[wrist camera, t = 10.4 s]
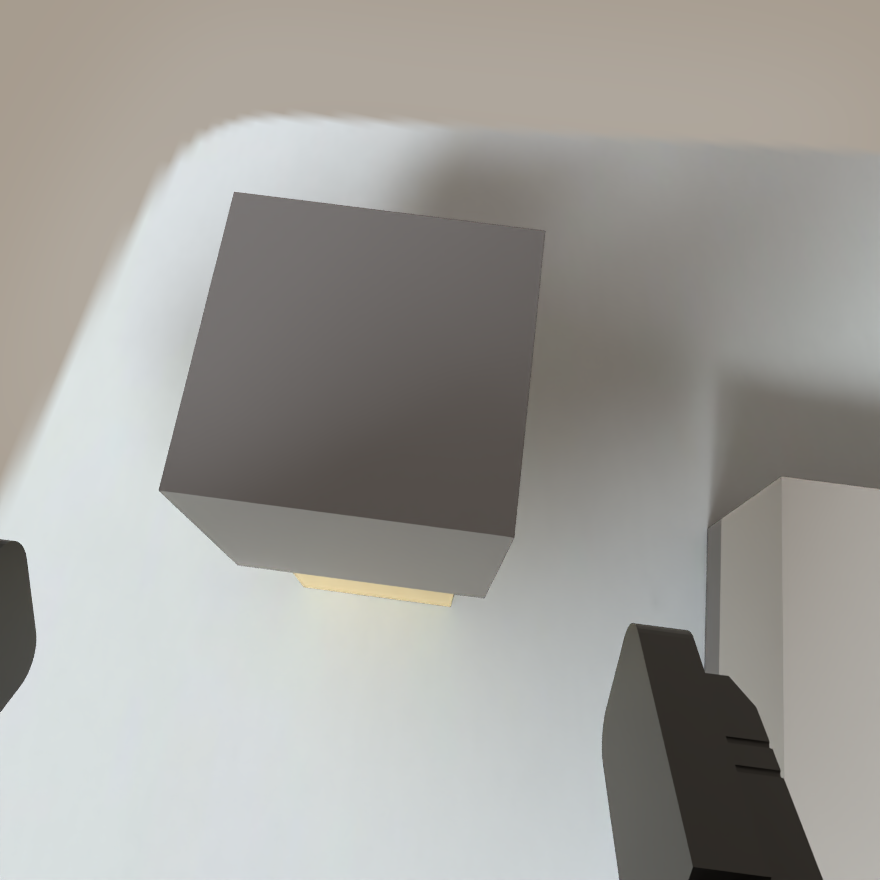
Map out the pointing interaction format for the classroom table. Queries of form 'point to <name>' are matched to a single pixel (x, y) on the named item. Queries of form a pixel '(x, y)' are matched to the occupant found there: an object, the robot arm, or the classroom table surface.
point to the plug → (360, 397)
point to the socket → (808, 652)
